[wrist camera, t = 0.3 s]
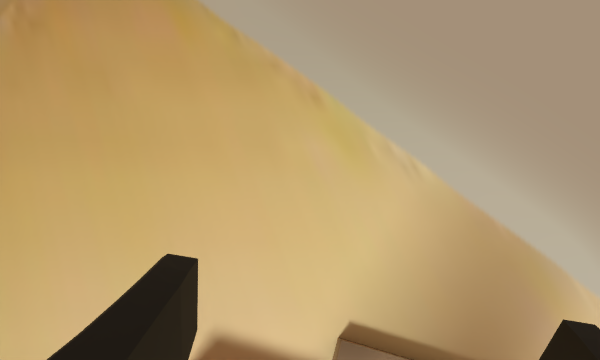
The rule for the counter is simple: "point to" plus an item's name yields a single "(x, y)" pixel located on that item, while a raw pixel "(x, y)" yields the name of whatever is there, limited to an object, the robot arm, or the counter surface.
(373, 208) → the counter surface
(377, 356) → the display stand
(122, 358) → the robot arm
